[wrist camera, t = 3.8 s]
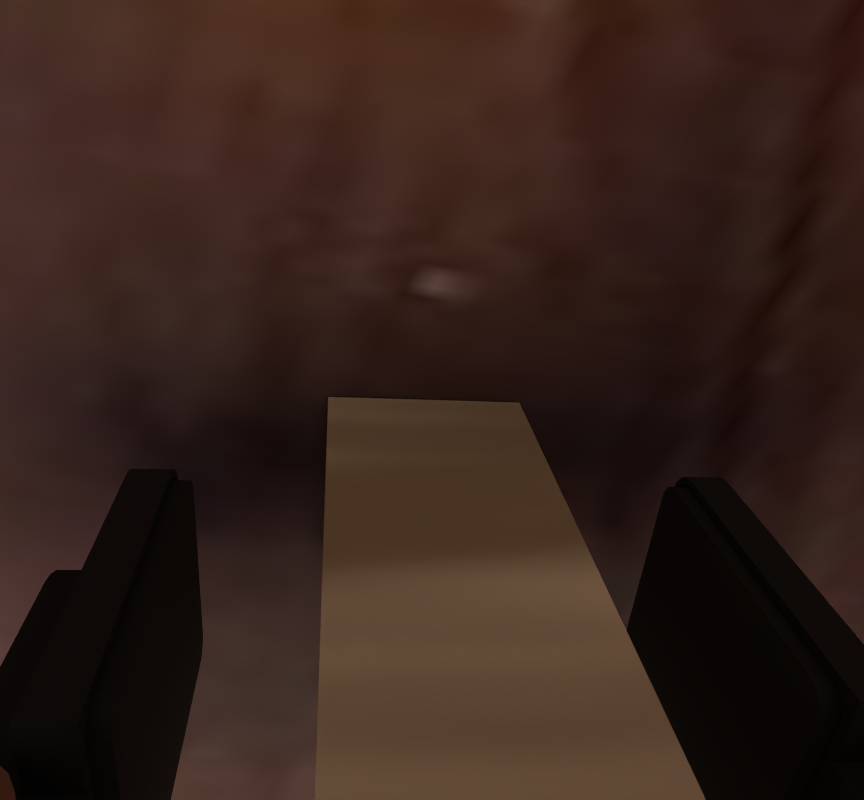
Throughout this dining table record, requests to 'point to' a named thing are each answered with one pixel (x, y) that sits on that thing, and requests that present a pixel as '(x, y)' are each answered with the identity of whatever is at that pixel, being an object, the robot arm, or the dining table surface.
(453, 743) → the wooden mallet
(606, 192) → the dining table surface
